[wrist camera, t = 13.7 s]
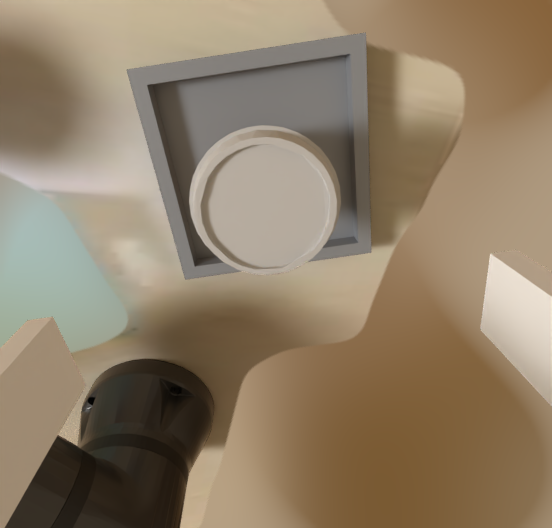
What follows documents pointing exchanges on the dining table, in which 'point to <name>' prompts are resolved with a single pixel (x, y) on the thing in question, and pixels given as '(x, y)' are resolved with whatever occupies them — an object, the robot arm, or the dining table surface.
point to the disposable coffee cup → (265, 199)
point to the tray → (254, 112)
